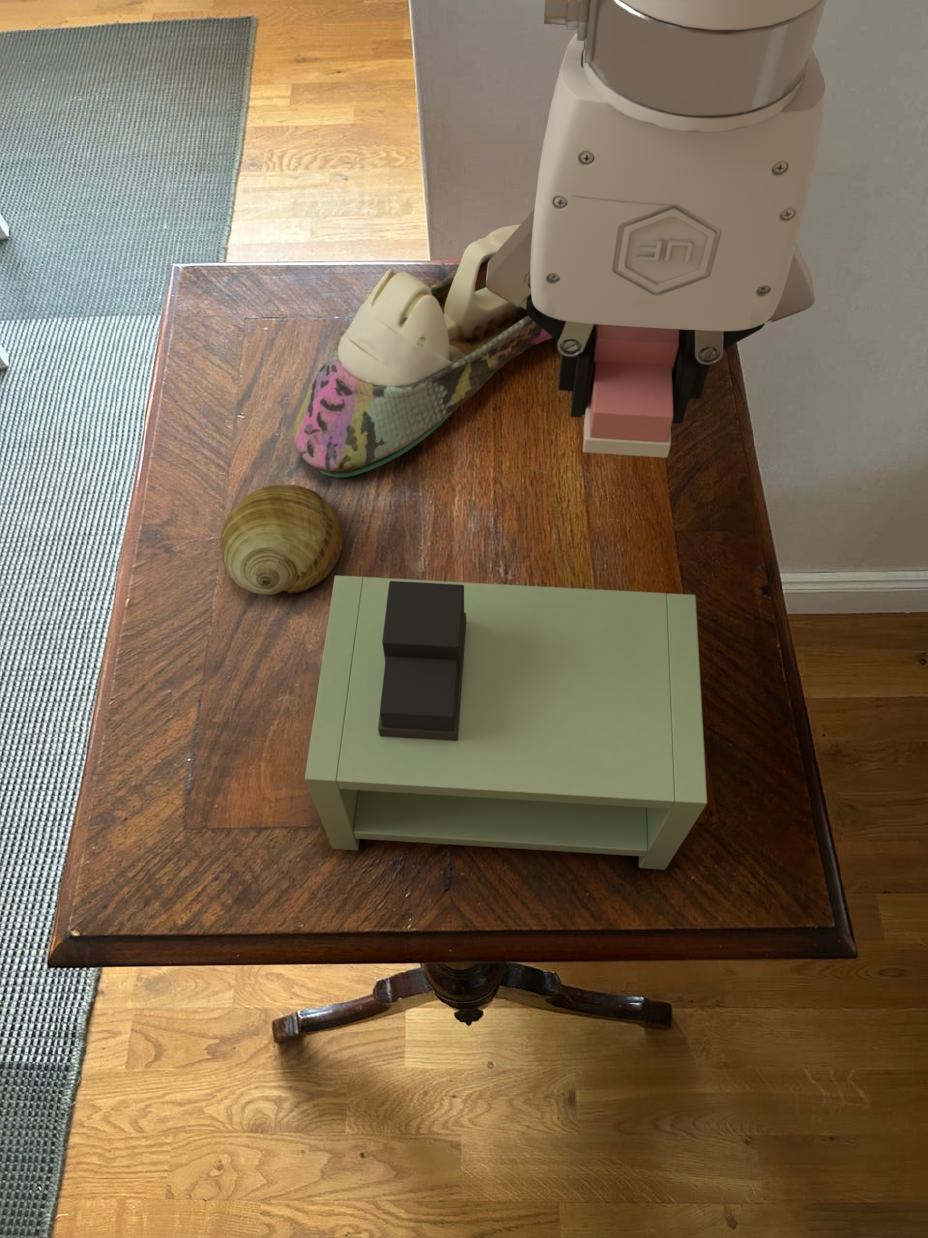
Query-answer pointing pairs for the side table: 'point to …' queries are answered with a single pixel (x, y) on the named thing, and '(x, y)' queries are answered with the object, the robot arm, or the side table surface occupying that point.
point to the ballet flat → (410, 363)
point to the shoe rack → (521, 726)
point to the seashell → (281, 540)
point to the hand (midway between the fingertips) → (626, 395)
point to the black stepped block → (423, 661)
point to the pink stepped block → (631, 391)
